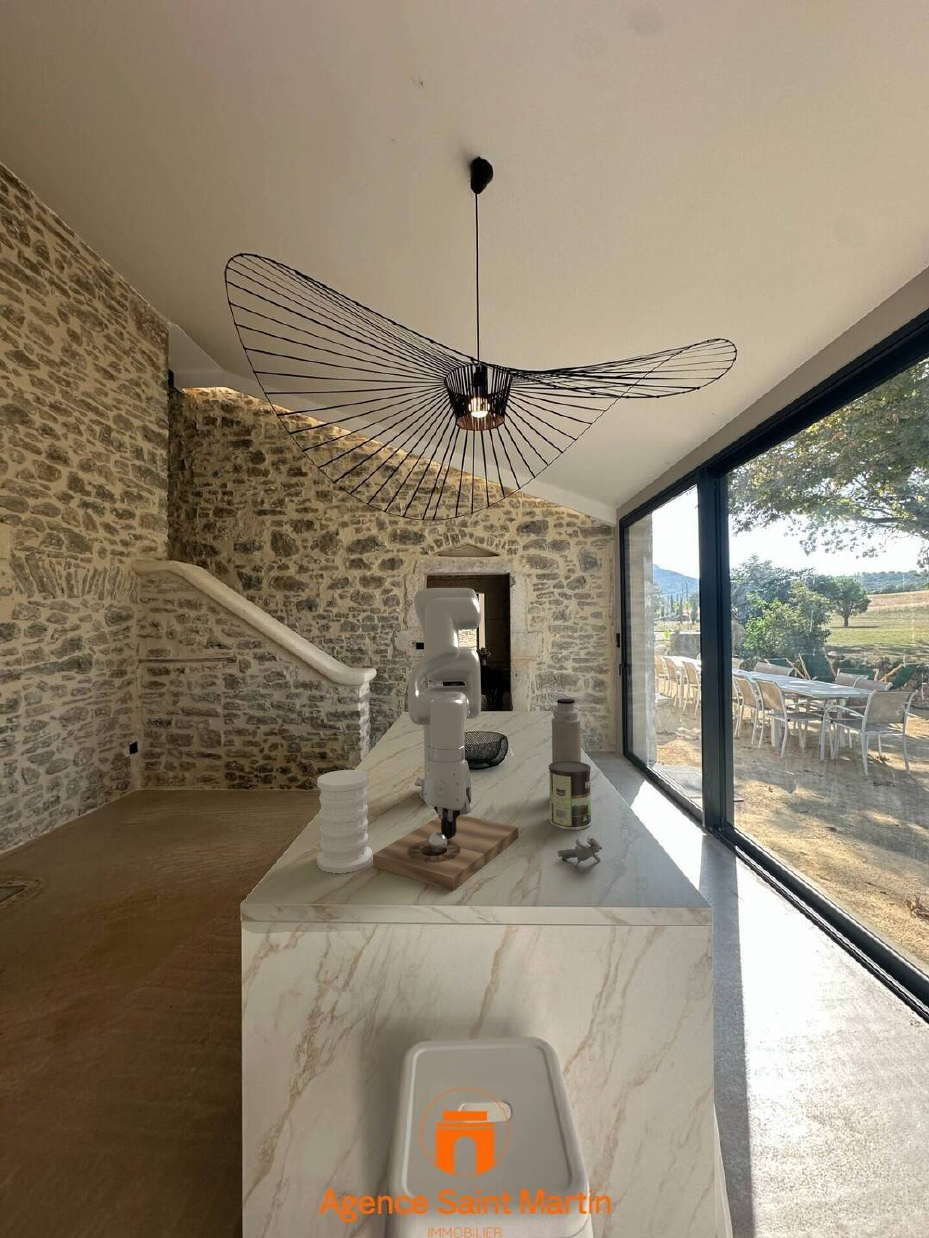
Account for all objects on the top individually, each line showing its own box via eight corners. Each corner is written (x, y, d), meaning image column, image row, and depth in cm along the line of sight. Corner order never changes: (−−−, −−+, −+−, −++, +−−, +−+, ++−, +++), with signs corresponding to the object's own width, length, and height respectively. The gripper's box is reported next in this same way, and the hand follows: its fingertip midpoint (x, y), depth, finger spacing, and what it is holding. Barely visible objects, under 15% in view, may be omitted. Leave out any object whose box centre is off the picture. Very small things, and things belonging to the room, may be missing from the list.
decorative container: (326, 848, 122) (324, 769, 122) (377, 848, 122) (375, 769, 122) (309, 873, 111) (308, 785, 110) (366, 873, 110) (364, 785, 110)
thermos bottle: (555, 792, 158) (554, 696, 158) (583, 794, 155) (581, 697, 155) (550, 801, 150) (549, 700, 150) (579, 804, 148) (578, 702, 147)
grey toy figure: (572, 850, 120) (610, 844, 115) (572, 878, 116) (611, 873, 111) (548, 832, 115) (586, 824, 110) (547, 860, 111) (587, 854, 106)
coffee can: (590, 815, 140) (590, 761, 139) (592, 831, 129) (591, 772, 129) (550, 813, 142) (549, 759, 142) (548, 828, 132) (547, 770, 131)
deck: (447, 821, 137) (447, 811, 137) (518, 837, 127) (518, 827, 126) (373, 866, 113) (372, 854, 113) (453, 890, 103) (452, 877, 103)
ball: (427, 829, 116) (437, 832, 119) (422, 849, 115) (433, 851, 118) (441, 832, 114) (452, 835, 117) (437, 852, 112) (448, 854, 115)
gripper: (410, 753, 120) (411, 835, 120) (467, 762, 112) (469, 850, 112) (429, 746, 126) (430, 824, 127) (485, 753, 119) (486, 837, 119)
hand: (448, 836), depth 120 cm, fingers closed
